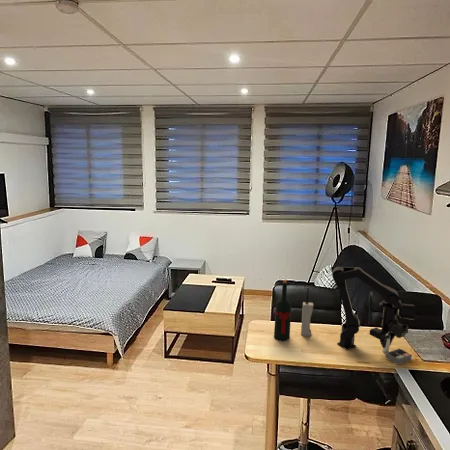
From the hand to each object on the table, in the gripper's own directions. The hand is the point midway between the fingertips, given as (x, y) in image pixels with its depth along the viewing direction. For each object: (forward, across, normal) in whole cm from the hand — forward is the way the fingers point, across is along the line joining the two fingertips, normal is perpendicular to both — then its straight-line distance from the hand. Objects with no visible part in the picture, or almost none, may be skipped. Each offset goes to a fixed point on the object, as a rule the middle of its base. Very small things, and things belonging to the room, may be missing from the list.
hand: (385, 347), depth 182 cm
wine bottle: (+3, -36, +33) cm, 49 cm away
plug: (+2, 0, 0) cm, 2 cm away
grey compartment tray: (+2, 0, -7) cm, 7 cm away
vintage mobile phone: (+3, -22, +31) cm, 38 cm away
